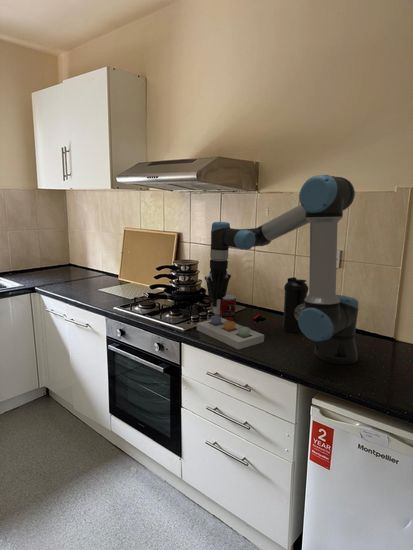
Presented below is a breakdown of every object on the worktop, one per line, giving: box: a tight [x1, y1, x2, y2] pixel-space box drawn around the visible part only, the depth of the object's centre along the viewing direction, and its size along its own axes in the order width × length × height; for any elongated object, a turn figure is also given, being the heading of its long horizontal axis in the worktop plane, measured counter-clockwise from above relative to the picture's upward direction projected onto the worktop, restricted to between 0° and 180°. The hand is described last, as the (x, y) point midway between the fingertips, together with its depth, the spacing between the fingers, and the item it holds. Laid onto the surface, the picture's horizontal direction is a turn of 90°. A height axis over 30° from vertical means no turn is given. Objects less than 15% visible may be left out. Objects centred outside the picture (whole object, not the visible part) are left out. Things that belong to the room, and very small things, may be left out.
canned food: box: [218, 294, 237, 321], centre depth 182 cm, size 8×8×11 cm
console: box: [196, 318, 265, 350], centre depth 161 cm, size 26×14×3 cm, turn 39°
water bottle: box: [282, 276, 309, 334], centre depth 170 cm, size 10×10×23 cm
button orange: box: [224, 320, 236, 332], centre depth 161 cm, size 4×4×4 cm
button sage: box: [238, 325, 251, 338], centre depth 154 cm, size 4×4×4 cm
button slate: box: [210, 314, 222, 326], centre depth 167 cm, size 4×4×4 cm
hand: (216, 313), depth 167 cm, fingers closed
